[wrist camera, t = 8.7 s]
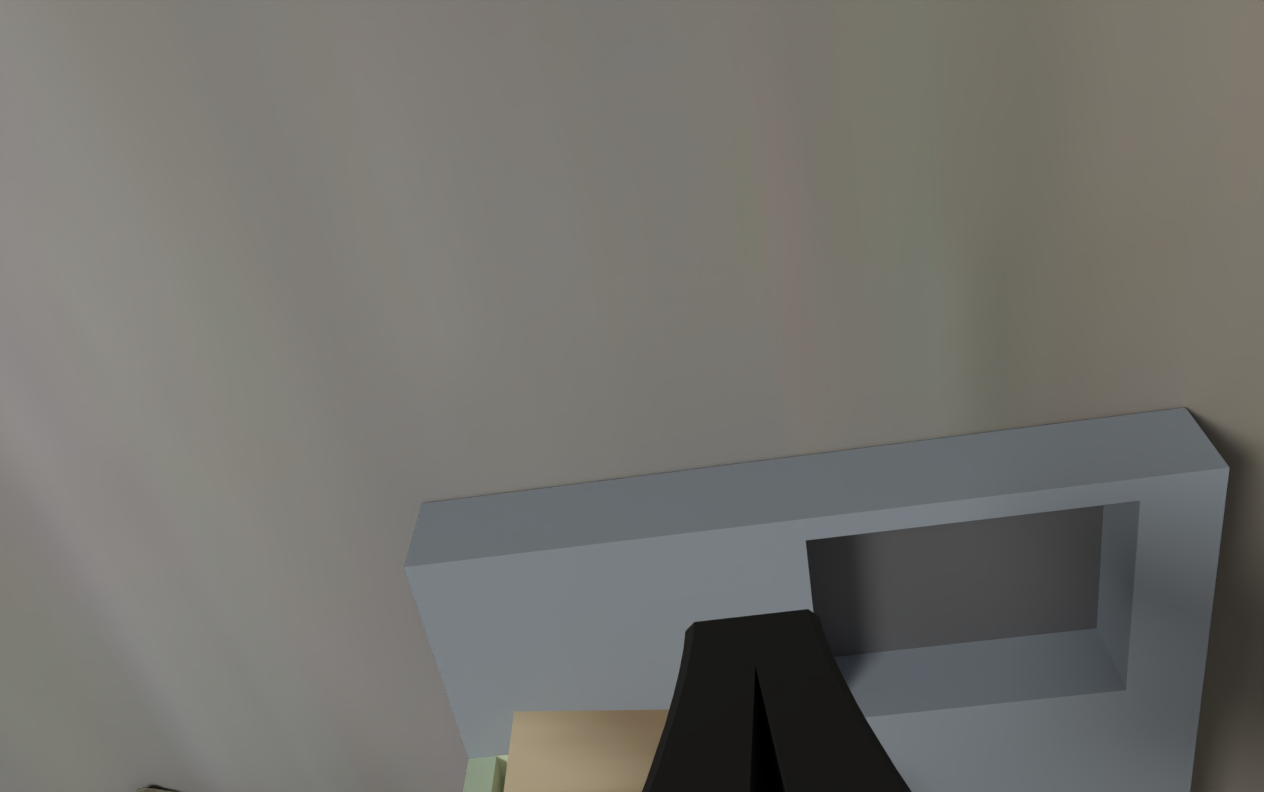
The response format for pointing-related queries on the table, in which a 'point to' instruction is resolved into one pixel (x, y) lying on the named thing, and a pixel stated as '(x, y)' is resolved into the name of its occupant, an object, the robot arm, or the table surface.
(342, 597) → the table surface
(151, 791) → the washcloth
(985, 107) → the table surface
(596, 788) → the beech block
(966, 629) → the deck
